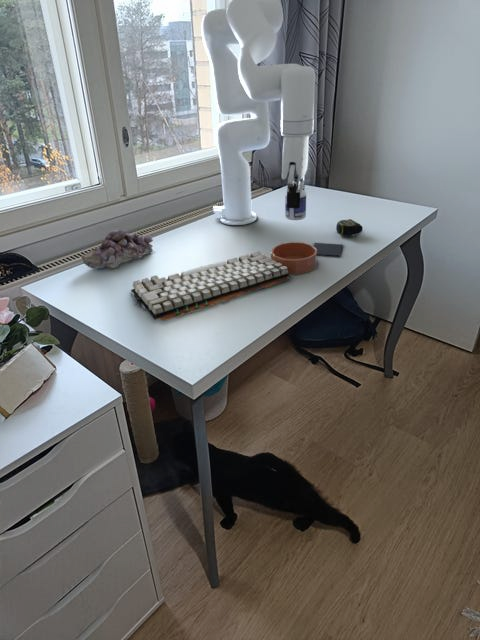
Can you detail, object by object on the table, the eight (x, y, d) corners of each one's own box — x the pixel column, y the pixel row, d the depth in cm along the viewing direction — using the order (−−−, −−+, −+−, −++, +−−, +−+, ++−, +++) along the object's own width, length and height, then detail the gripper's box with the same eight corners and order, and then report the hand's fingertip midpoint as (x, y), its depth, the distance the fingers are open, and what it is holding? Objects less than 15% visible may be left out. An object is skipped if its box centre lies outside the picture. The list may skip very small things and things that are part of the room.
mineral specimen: (131, 228, 137) (138, 210, 129) (153, 253, 138) (162, 237, 129) (77, 262, 126) (81, 245, 118) (101, 289, 127) (107, 273, 118)
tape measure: (363, 235, 136) (364, 224, 134) (342, 239, 135) (343, 227, 133) (351, 228, 142) (352, 217, 140) (332, 232, 140) (332, 220, 138)
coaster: (310, 254, 127) (310, 253, 126) (314, 244, 133) (314, 242, 133) (339, 256, 125) (339, 255, 124) (342, 245, 131) (342, 244, 131)
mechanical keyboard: (254, 255, 128) (254, 244, 126) (294, 279, 114) (294, 267, 112) (128, 293, 113) (125, 281, 111) (155, 327, 99) (152, 314, 97)
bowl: (267, 272, 119) (266, 258, 117) (276, 254, 128) (276, 241, 126) (312, 275, 116) (313, 261, 113) (319, 256, 125) (319, 243, 123)
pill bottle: (308, 214, 117) (309, 180, 112) (301, 221, 113) (302, 186, 108) (289, 212, 119) (289, 178, 114) (282, 219, 115) (282, 184, 110)
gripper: (288, 120, 112) (287, 193, 122) (272, 134, 99) (273, 214, 108) (318, 120, 110) (315, 194, 120) (307, 135, 97) (304, 216, 106)
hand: (295, 203), depth 114 cm, fingers closed on pill bottle, 5 cm apart
